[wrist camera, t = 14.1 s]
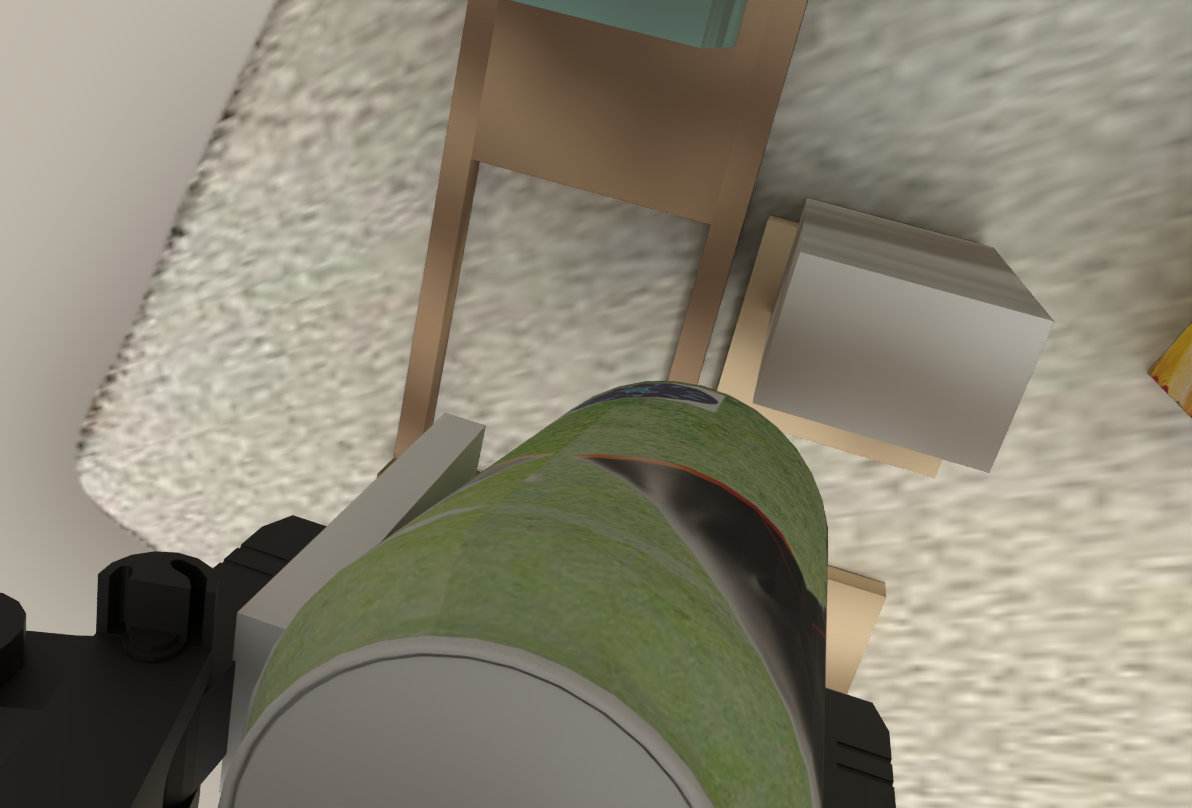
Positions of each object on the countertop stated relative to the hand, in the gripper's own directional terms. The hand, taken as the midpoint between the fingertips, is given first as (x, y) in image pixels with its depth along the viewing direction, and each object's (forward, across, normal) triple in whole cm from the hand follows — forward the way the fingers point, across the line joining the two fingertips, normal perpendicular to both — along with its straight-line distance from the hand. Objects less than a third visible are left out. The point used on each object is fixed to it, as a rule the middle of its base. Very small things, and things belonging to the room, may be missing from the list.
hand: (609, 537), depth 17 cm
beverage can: (+3, +1, 0) cm, 3 cm away
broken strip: (+19, +5, -7) cm, 21 cm away
